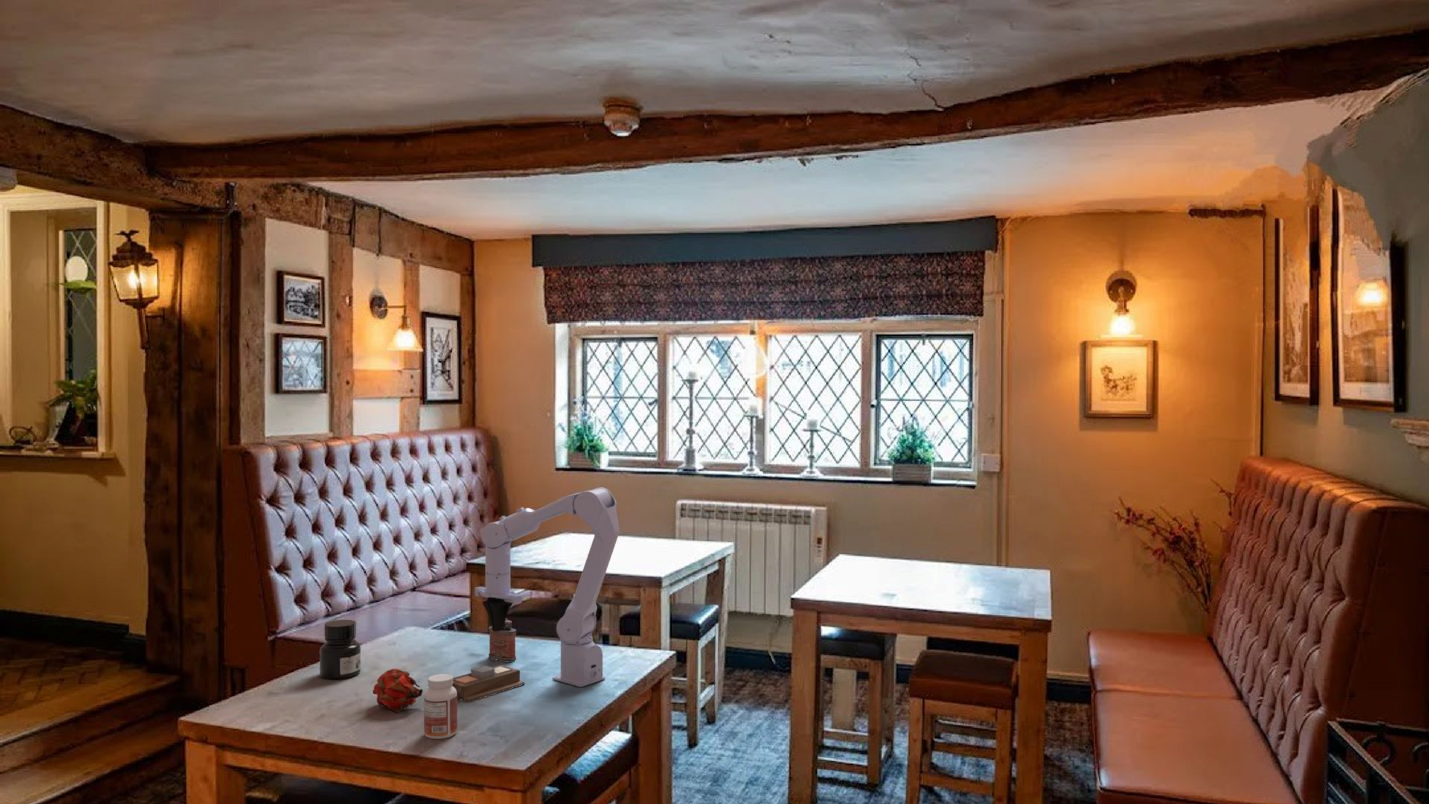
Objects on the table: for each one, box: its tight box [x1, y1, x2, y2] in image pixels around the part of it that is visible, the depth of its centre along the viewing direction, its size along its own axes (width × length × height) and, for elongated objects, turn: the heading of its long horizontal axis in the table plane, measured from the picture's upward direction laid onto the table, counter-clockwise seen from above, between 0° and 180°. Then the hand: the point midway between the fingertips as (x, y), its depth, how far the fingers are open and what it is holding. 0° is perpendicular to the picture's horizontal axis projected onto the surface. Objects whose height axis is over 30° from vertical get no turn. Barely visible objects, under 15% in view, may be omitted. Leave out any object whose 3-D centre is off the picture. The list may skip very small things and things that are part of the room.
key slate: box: [470, 665, 495, 681], centre depth 218 cm, size 4×4×2 cm
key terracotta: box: [454, 676, 478, 685], centre depth 214 cm, size 4×4×2 cm
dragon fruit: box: [372, 668, 424, 712], centre depth 205 cm, size 8×8×12 cm
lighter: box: [488, 617, 517, 662], centre depth 241 cm, size 8×3×10 cm, turn 58°
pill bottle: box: [423, 673, 458, 740], centre depth 190 cm, size 6×6×11 cm
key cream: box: [494, 667, 510, 676], centre depth 221 cm, size 4×4×2 cm
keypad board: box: [452, 664, 525, 703], centre depth 218 cm, size 10×15×3 cm, turn 142°
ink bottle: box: [319, 619, 362, 680], centre depth 228 cm, size 10×9×12 cm
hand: (497, 630), depth 230 cm, fingers closed
